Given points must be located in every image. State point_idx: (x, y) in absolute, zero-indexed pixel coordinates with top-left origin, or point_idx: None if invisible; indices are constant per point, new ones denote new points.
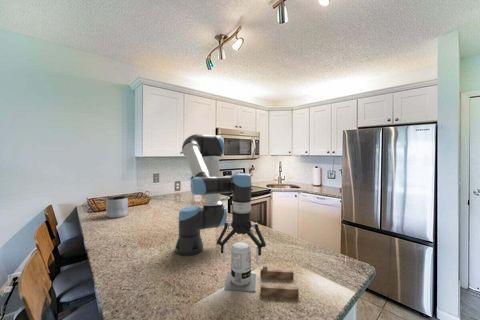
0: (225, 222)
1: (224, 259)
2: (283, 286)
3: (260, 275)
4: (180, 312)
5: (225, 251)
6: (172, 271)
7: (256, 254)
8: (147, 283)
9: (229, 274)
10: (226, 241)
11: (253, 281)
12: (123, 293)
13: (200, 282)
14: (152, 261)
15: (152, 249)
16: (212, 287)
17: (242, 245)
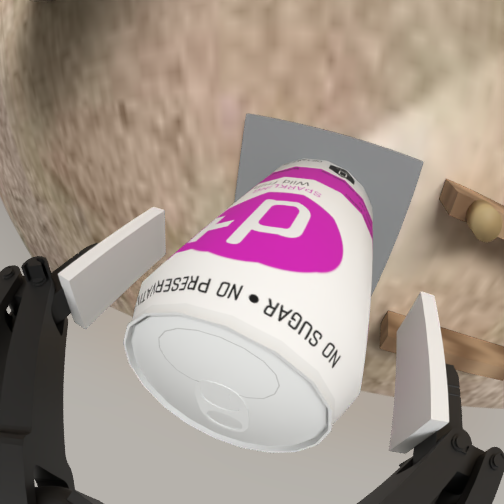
0: None
1: (150, 263)
2: (472, 361)
3: (442, 203)
4: (132, 310)
5: (115, 279)
6: (47, 114)
7: (395, 399)
8: (31, 180)
9: (250, 140)
10: (59, 366)
11: (385, 236)
12: (23, 214)
13: (132, 187)
14: (8, 68)
15: (3, 7)
16: (180, 228)
17: (235, 405)
